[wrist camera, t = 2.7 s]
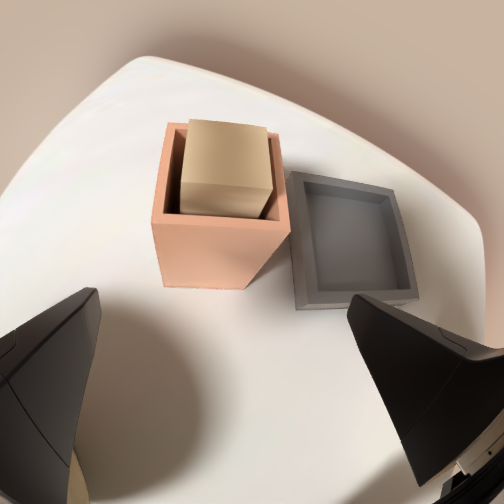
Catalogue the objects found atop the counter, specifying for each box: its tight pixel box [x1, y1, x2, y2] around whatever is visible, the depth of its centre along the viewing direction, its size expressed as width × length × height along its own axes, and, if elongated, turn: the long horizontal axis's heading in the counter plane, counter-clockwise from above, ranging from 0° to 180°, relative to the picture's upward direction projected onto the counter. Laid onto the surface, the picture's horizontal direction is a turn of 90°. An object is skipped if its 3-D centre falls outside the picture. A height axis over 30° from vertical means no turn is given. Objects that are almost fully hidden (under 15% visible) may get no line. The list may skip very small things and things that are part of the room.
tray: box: [285, 171, 419, 310], centre depth 27 cm, size 12×12×2 cm
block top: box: [180, 119, 273, 219], centre depth 15 cm, size 4×4×4 cm
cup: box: [151, 123, 291, 290], centre depth 19 cm, size 6×6×11 cm
